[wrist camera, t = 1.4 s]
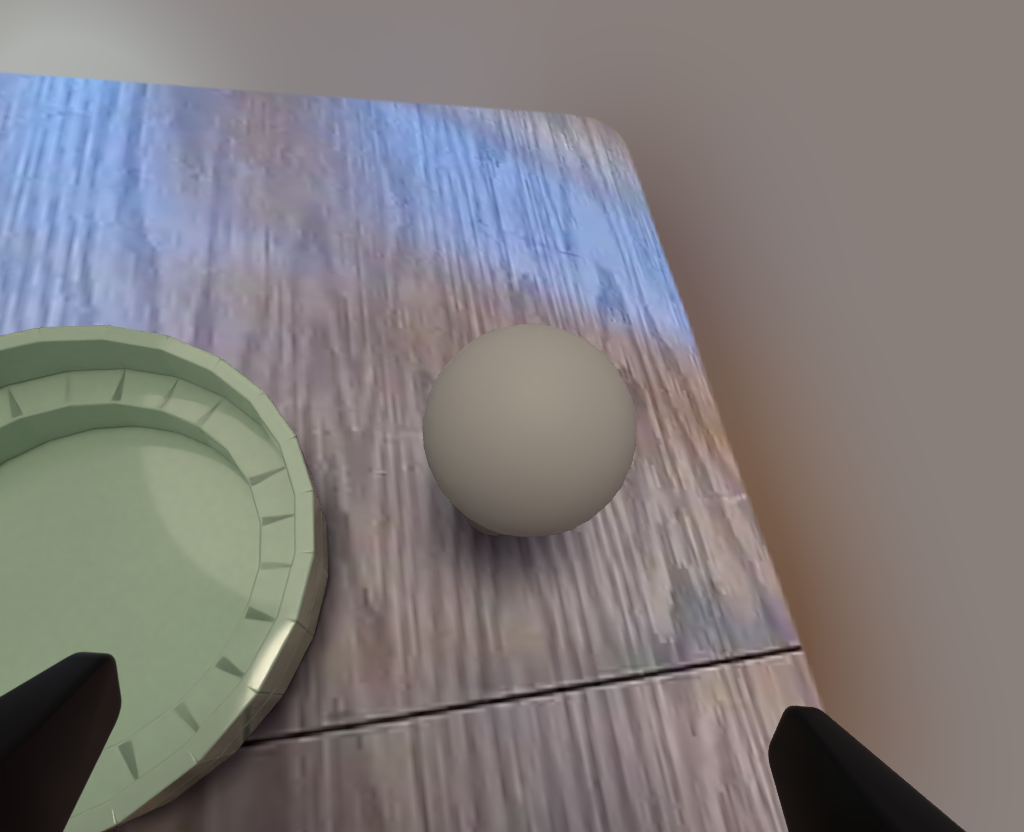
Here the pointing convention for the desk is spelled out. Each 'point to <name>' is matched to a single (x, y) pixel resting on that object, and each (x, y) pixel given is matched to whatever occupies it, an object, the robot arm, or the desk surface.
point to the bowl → (153, 548)
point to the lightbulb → (529, 431)
